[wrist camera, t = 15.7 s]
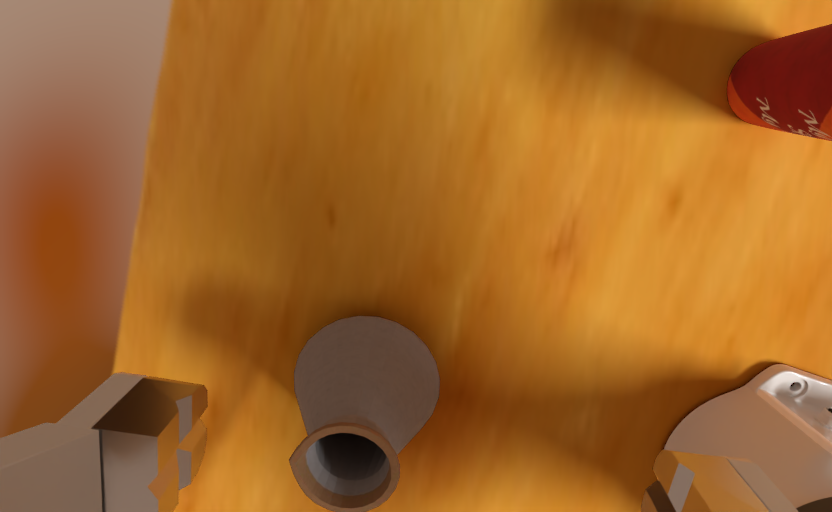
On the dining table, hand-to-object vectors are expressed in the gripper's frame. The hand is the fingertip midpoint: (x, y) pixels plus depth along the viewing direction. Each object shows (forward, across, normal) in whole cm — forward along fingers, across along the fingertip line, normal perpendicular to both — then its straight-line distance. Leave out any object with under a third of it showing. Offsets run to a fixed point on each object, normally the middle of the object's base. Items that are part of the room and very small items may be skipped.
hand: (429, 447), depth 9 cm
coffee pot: (+31, +3, +21) cm, 38 cm away
